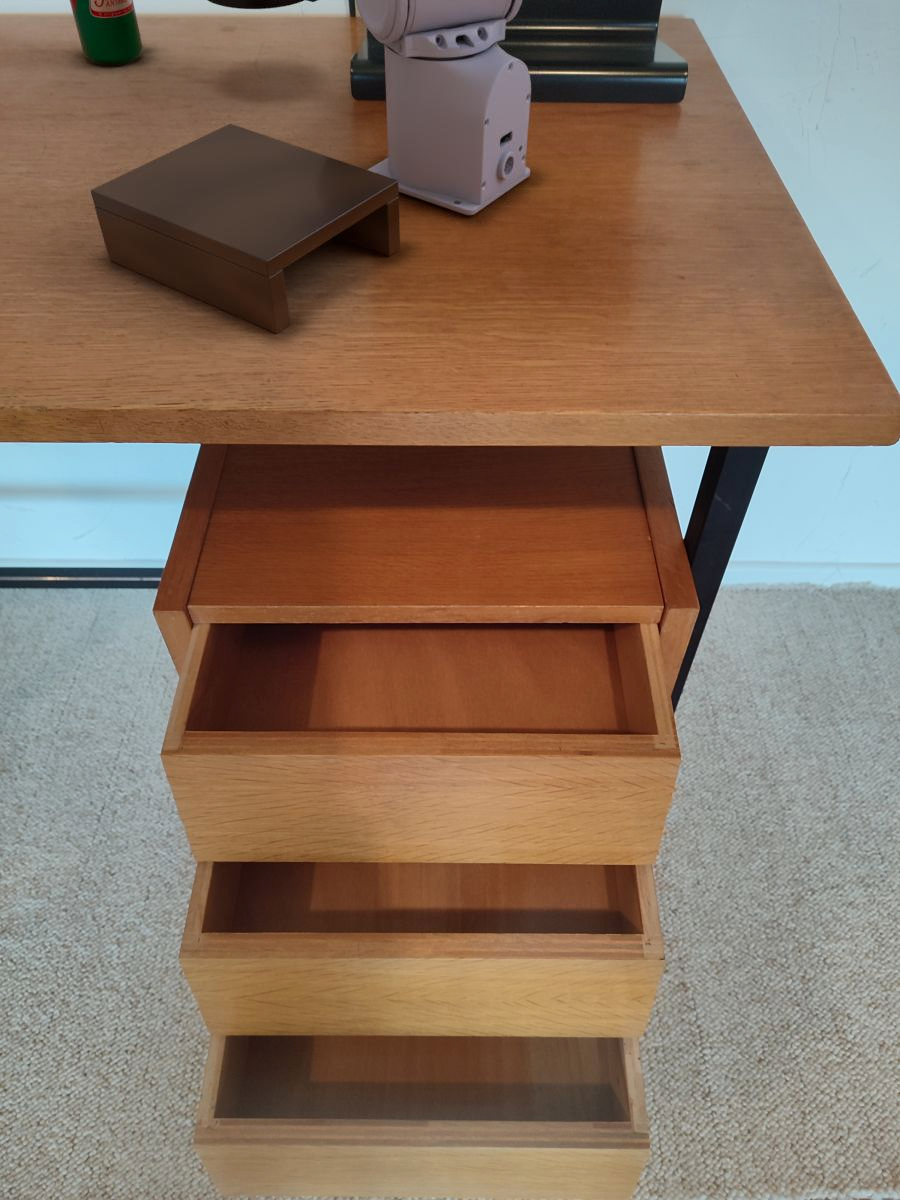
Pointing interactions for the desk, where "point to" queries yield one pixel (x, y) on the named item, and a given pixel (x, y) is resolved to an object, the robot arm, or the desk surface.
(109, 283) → the desk surface
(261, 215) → the brown stand
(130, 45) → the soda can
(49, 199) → the desk surface
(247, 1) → the pan
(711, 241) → the desk surface
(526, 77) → the robot arm
